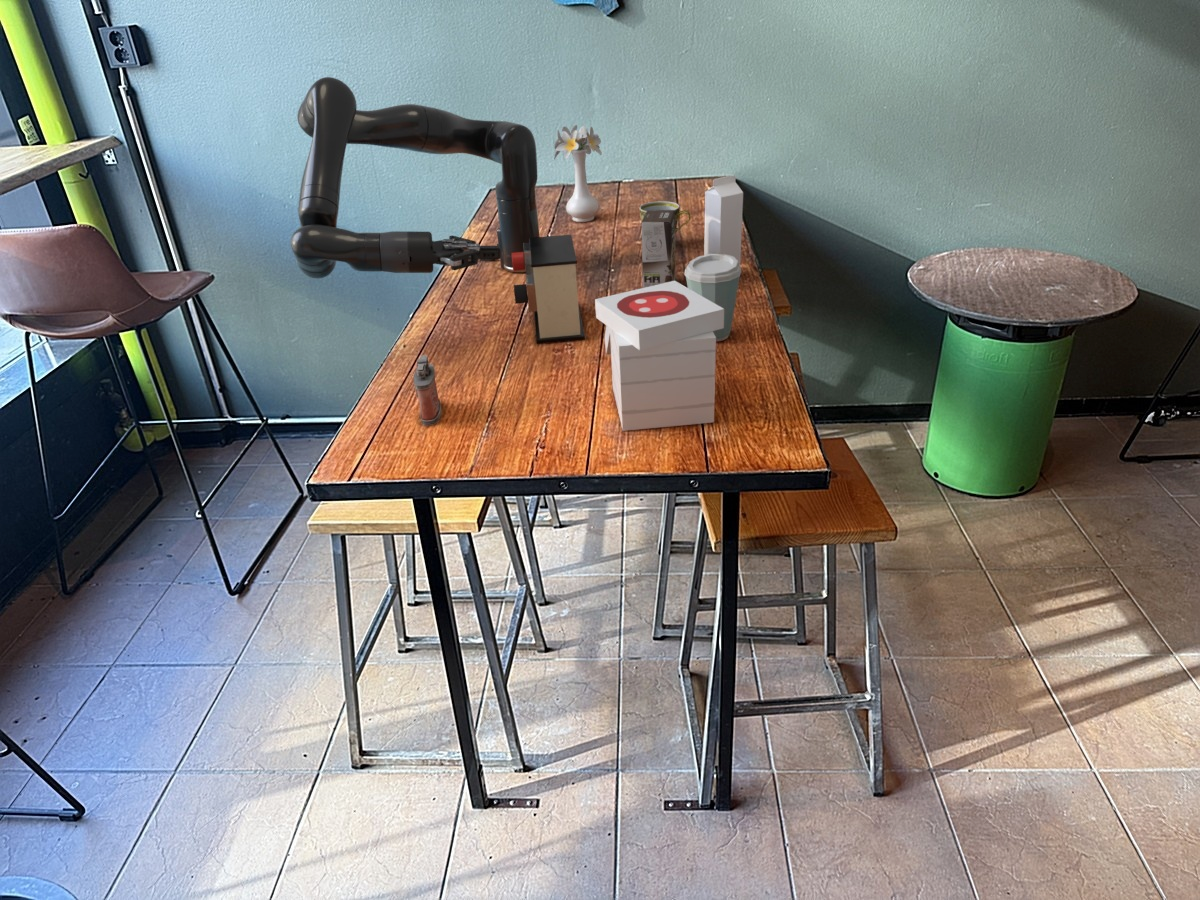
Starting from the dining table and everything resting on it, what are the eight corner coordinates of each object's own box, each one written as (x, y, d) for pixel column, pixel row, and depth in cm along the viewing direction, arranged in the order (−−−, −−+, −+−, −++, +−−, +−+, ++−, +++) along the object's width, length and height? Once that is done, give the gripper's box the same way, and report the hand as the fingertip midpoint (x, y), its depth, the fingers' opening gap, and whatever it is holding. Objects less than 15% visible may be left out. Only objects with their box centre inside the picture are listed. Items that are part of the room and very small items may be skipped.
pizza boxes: (692, 349, 157) (693, 257, 147) (728, 427, 131) (732, 322, 122) (592, 358, 156) (586, 265, 146) (609, 439, 130) (603, 333, 121)
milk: (740, 276, 189) (744, 177, 177) (718, 281, 186) (722, 182, 174) (724, 268, 193) (727, 172, 181) (702, 274, 191) (705, 176, 179)
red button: (513, 273, 166) (511, 256, 164) (513, 267, 169) (511, 250, 168) (525, 272, 166) (523, 255, 165) (525, 266, 170) (523, 249, 168)
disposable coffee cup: (725, 351, 155) (727, 274, 147) (674, 340, 160) (674, 266, 152) (747, 330, 163) (751, 256, 155) (698, 321, 168) (699, 249, 160)
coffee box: (671, 294, 181) (670, 221, 172) (642, 294, 182) (640, 221, 174) (676, 279, 188) (676, 209, 180) (648, 279, 190) (646, 209, 181)
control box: (532, 344, 162) (524, 266, 154) (530, 310, 177) (522, 237, 169) (585, 339, 163) (579, 261, 154) (578, 306, 178) (573, 233, 169)
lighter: (423, 403, 144) (413, 351, 138) (443, 401, 144) (434, 349, 139) (418, 426, 137) (408, 372, 132) (439, 424, 137) (429, 370, 132)
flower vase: (602, 208, 242) (597, 117, 229) (607, 226, 226) (602, 130, 213) (557, 211, 241) (550, 121, 228) (560, 229, 226) (552, 134, 213)
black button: (515, 306, 161) (513, 288, 159) (515, 299, 164) (513, 282, 162) (528, 305, 161) (526, 287, 159) (527, 298, 164) (525, 281, 162)
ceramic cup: (634, 250, 207) (633, 211, 202) (647, 238, 215) (647, 200, 210) (684, 254, 203) (684, 214, 198) (695, 242, 211) (696, 202, 205)
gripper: (408, 259, 161) (497, 259, 164) (407, 284, 150) (502, 284, 153) (406, 221, 157) (497, 222, 160) (404, 244, 146) (503, 244, 149)
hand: (500, 252), depth 156 cm, fingers closed
